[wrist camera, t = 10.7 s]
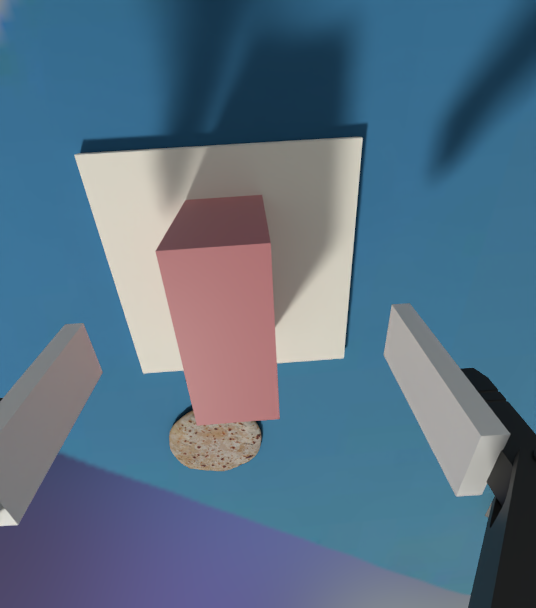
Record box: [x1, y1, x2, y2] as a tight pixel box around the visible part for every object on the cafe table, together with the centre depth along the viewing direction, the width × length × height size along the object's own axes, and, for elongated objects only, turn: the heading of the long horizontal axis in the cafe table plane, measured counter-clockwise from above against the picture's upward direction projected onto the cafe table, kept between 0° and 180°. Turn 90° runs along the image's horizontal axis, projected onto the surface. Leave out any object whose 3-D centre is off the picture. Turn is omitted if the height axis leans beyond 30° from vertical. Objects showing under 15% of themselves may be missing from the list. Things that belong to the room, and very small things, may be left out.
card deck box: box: [155, 195, 280, 426], centre depth 17 cm, size 9×4×7 cm, turn 3°
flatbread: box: [169, 410, 261, 471], centre depth 28 cm, size 8×8×1 cm
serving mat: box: [74, 137, 363, 373], centre depth 20 cm, size 14×14×1 cm
